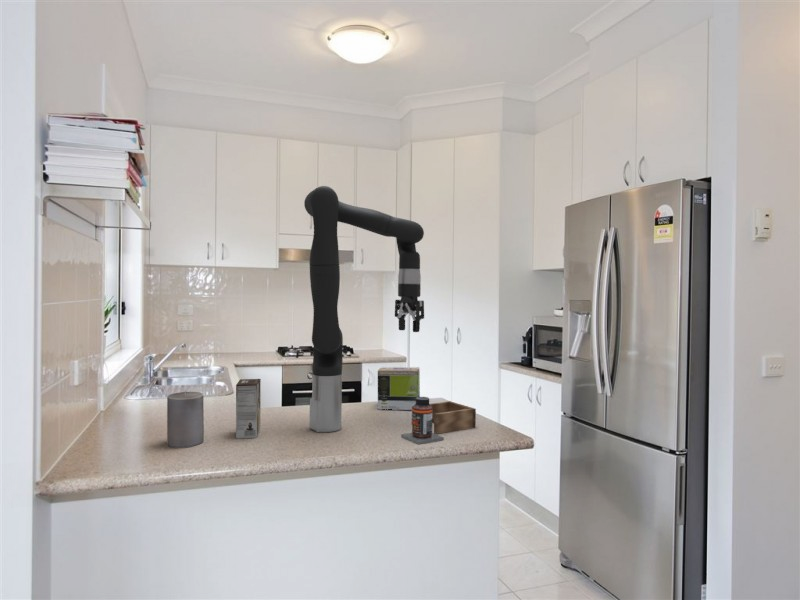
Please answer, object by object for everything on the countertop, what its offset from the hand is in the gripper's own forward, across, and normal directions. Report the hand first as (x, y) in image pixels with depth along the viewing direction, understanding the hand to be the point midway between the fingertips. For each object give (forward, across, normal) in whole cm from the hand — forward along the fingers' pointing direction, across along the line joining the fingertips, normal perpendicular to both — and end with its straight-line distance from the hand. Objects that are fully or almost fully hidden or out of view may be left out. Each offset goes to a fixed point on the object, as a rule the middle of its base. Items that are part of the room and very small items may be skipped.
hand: (408, 331), depth 183 cm
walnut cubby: (+30, -12, -5) cm, 33 cm away
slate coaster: (+30, -20, +8) cm, 37 cm away
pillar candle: (+30, +10, +69) cm, 76 cm away
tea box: (+30, +18, -8) cm, 36 cm away
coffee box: (+30, +10, +51) cm, 60 cm away
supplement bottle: (+30, -21, +9) cm, 37 cm away
